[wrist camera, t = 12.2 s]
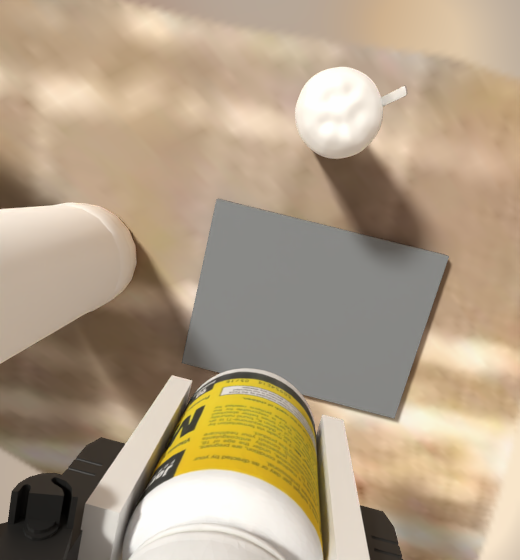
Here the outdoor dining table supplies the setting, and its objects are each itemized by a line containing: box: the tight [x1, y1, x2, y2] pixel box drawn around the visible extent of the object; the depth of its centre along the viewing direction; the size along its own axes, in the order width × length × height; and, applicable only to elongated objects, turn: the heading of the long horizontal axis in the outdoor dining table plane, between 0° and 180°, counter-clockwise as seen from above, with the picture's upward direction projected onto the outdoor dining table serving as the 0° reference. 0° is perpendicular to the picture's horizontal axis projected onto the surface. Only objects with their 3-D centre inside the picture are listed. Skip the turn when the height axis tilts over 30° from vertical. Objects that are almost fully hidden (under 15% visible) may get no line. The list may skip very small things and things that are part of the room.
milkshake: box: [295, 67, 407, 159], centre depth 26 cm, size 5×5×10 cm
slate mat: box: [182, 199, 449, 418], centre depth 33 cm, size 17×13×1 cm
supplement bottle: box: [122, 368, 324, 560], centre depth 12 cm, size 5×5×8 cm
